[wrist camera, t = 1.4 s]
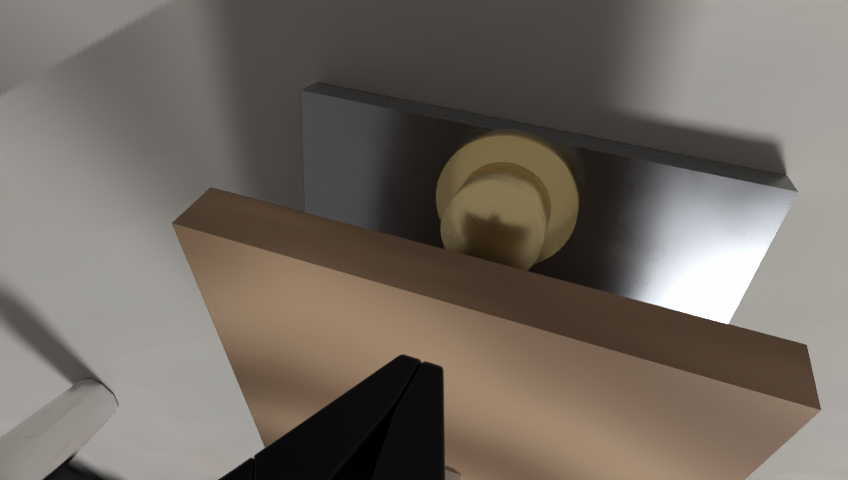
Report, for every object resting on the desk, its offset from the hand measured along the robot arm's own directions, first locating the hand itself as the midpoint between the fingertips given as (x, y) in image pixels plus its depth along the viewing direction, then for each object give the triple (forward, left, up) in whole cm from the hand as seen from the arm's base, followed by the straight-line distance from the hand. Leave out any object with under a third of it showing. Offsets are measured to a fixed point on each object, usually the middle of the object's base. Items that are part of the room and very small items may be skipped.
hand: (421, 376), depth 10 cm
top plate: (-7, 0, -6) cm, 9 cm away
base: (-6, 0, -11) cm, 12 cm away
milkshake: (-23, +26, -11) cm, 37 cm away
